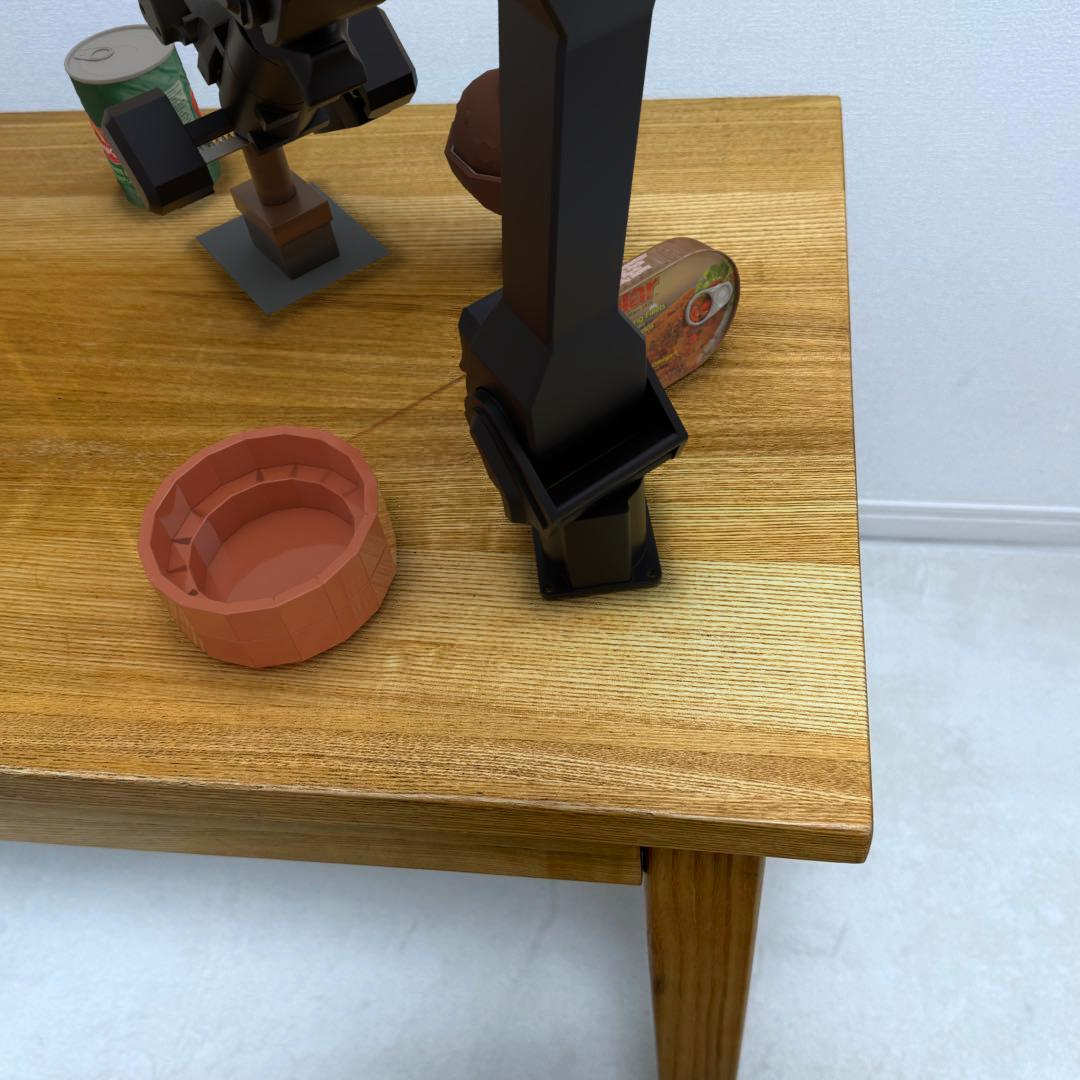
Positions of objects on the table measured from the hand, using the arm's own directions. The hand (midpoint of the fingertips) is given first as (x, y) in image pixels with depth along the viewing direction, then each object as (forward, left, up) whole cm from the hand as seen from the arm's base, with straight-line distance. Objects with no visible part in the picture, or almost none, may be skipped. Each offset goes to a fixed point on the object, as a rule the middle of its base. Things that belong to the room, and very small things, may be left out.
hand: (253, 153), depth 73 cm
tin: (-20, -23, -8) cm, 31 cm away
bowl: (-31, -2, -7) cm, 32 cm away
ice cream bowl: (-6, -19, -7) cm, 21 cm away
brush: (-2, -1, -7) cm, 7 cm away
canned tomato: (+10, +9, -7) cm, 15 cm away
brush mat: (-1, -1, -7) cm, 7 cm away
